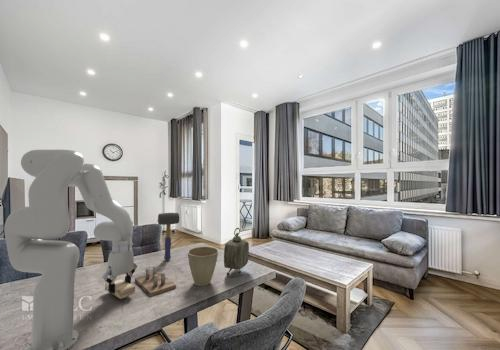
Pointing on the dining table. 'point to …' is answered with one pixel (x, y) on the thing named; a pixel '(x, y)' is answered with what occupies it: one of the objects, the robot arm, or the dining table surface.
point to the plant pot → (202, 264)
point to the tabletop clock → (236, 253)
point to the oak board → (121, 288)
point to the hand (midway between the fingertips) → (119, 288)
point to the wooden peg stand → (154, 282)
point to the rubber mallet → (168, 229)
